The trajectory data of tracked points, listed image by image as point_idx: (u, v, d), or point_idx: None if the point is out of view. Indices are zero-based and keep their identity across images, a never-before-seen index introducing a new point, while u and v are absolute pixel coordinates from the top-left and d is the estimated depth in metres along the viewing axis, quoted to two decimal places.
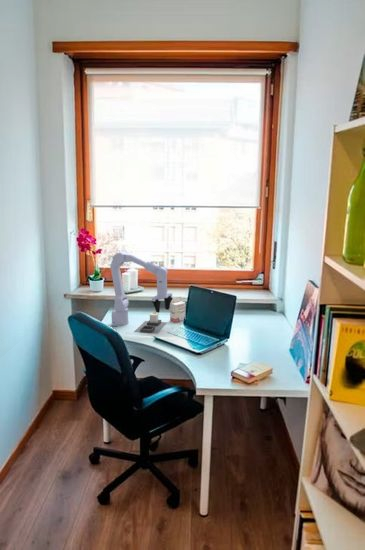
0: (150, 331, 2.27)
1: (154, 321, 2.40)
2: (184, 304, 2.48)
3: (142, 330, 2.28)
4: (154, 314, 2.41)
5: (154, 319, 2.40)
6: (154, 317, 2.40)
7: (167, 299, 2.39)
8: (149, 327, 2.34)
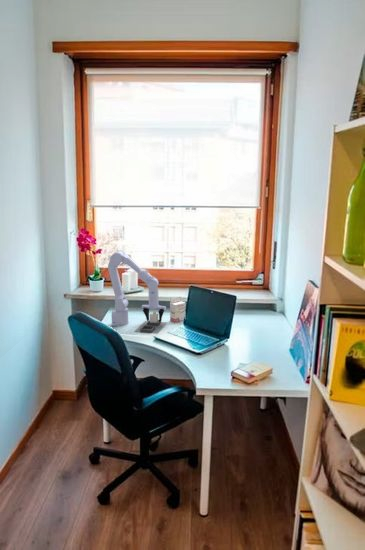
0: (150, 331, 2.27)
1: (154, 321, 2.40)
2: (184, 304, 2.48)
3: (142, 330, 2.28)
4: (154, 314, 2.41)
5: (154, 319, 2.40)
6: (154, 317, 2.40)
7: None
8: (149, 327, 2.34)
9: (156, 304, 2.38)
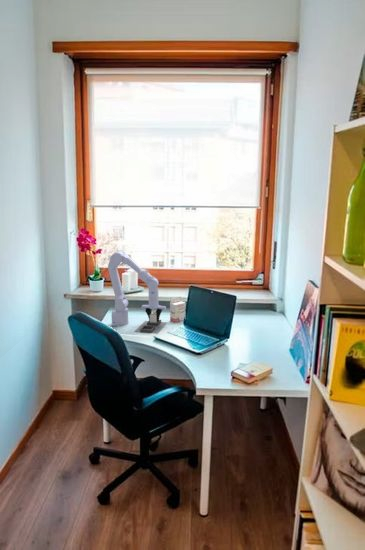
0: (150, 331, 2.27)
1: (154, 321, 2.40)
2: (184, 304, 2.48)
3: (142, 330, 2.28)
4: (154, 314, 2.41)
5: (154, 319, 2.40)
6: (154, 317, 2.40)
7: None
8: (149, 327, 2.34)
9: (156, 304, 2.38)
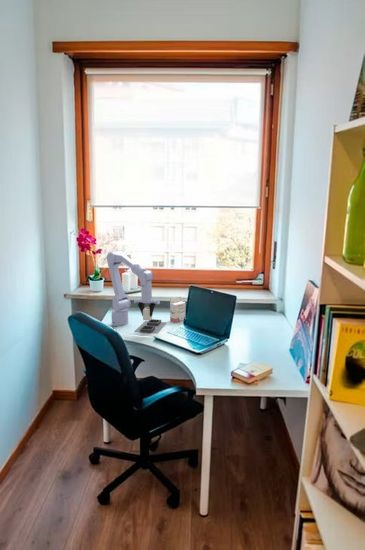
0: (150, 331, 2.27)
1: (147, 316, 2.28)
2: (184, 304, 2.48)
3: (142, 330, 2.28)
4: (147, 309, 2.29)
5: (147, 314, 2.28)
6: (147, 312, 2.28)
7: None
8: (149, 327, 2.34)
9: (149, 298, 2.25)
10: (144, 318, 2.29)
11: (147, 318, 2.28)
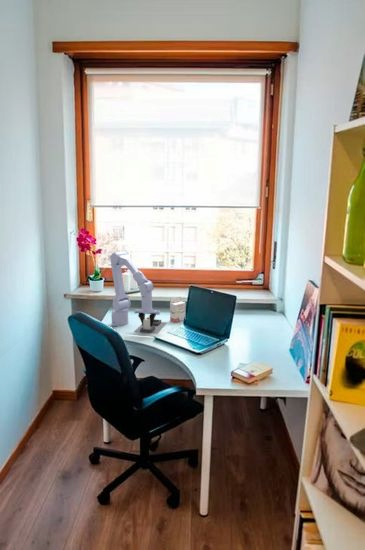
0: (150, 331, 2.27)
1: (148, 327, 2.29)
2: (184, 304, 2.48)
3: (142, 330, 2.28)
4: (148, 319, 2.30)
5: (148, 325, 2.29)
6: (147, 322, 2.29)
7: None
8: None
9: (149, 308, 2.27)
10: (144, 328, 2.30)
11: (147, 328, 2.29)
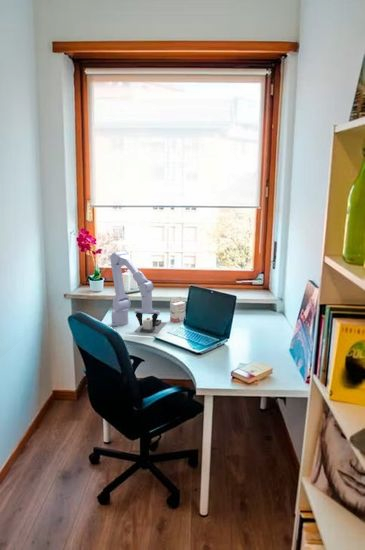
0: (150, 331, 2.27)
1: (148, 327, 2.29)
2: (184, 304, 2.48)
3: (142, 330, 2.28)
4: (148, 320, 2.30)
5: (148, 325, 2.29)
6: (147, 323, 2.29)
7: None
8: None
9: (149, 308, 2.27)
10: None
11: None
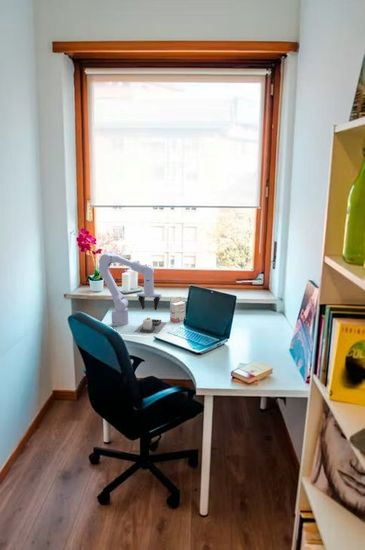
0: (150, 331, 2.27)
1: (148, 327, 2.29)
2: (184, 304, 2.48)
3: (142, 330, 2.28)
4: (148, 320, 2.30)
5: (148, 325, 2.29)
6: (147, 323, 2.29)
7: None
8: None
9: (151, 292, 2.37)
10: None
11: None
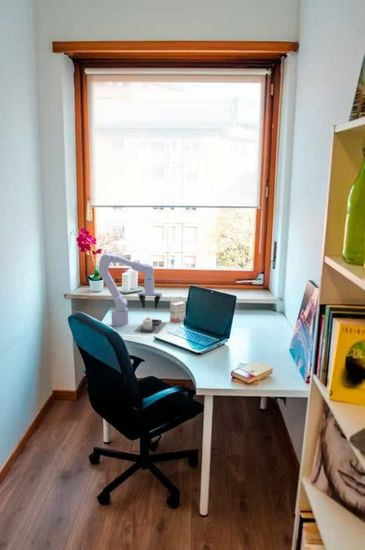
0: (150, 331, 2.27)
1: (148, 327, 2.29)
2: (184, 304, 2.48)
3: (142, 330, 2.28)
4: (148, 320, 2.30)
5: (148, 325, 2.29)
6: (147, 323, 2.29)
7: None
8: None
9: (152, 291, 2.39)
10: None
11: None
